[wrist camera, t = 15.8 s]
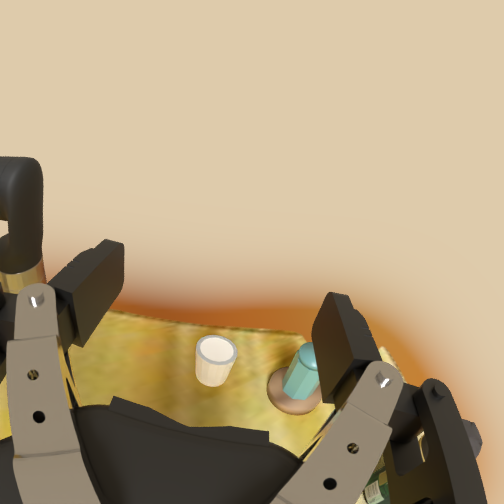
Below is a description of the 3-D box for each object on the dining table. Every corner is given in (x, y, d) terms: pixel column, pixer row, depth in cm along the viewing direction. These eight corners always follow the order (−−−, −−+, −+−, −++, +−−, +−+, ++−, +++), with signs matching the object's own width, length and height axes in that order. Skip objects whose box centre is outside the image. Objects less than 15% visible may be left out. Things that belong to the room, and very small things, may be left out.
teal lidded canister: (276, 384, 46) (292, 350, 42) (295, 371, 49) (313, 337, 46) (298, 404, 42) (319, 372, 38) (317, 389, 46) (338, 357, 42)
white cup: (234, 368, 50) (242, 342, 47) (223, 394, 43) (231, 370, 40) (200, 355, 50) (204, 329, 47) (186, 380, 44) (189, 354, 41)
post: (255, 387, 46) (267, 359, 43) (291, 365, 53) (305, 338, 50) (294, 424, 40) (313, 399, 37) (328, 396, 47) (346, 370, 44)
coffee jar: (403, 468, 32) (475, 408, 24) (410, 503, 25) (493, 450, 17) (358, 474, 32) (432, 415, 24) (364, 514, 25) (450, 467, 17)
